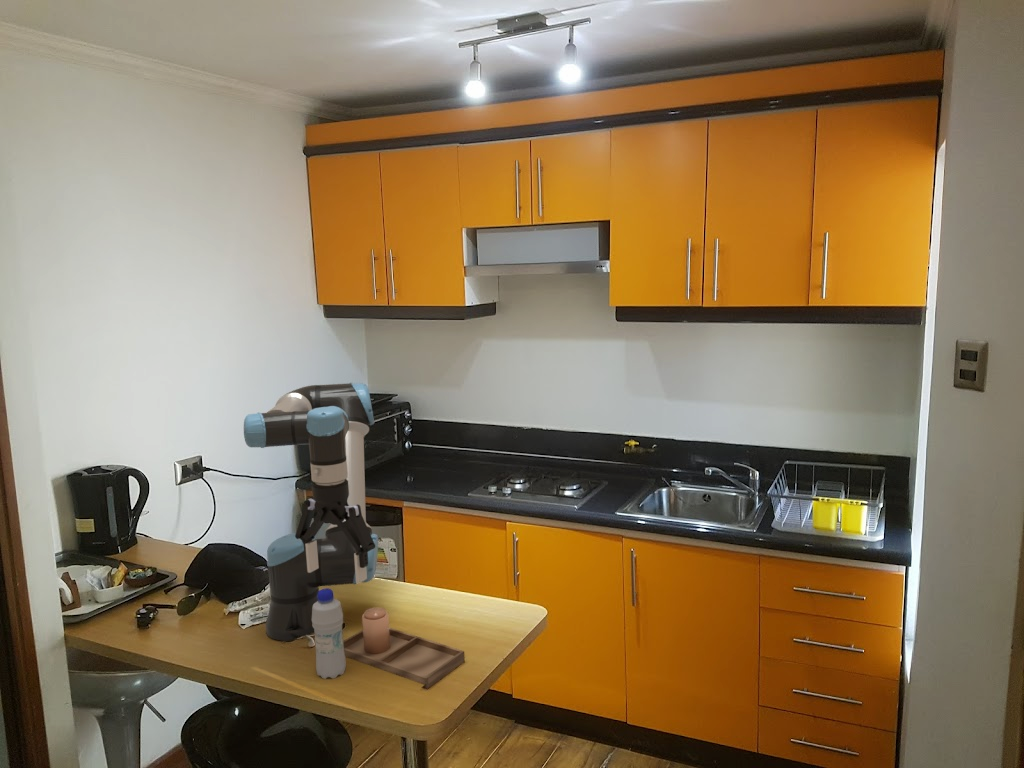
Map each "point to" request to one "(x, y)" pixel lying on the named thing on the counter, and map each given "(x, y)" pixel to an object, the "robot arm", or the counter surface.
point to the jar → (376, 630)
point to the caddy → (408, 657)
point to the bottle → (328, 635)
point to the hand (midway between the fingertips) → (336, 575)
